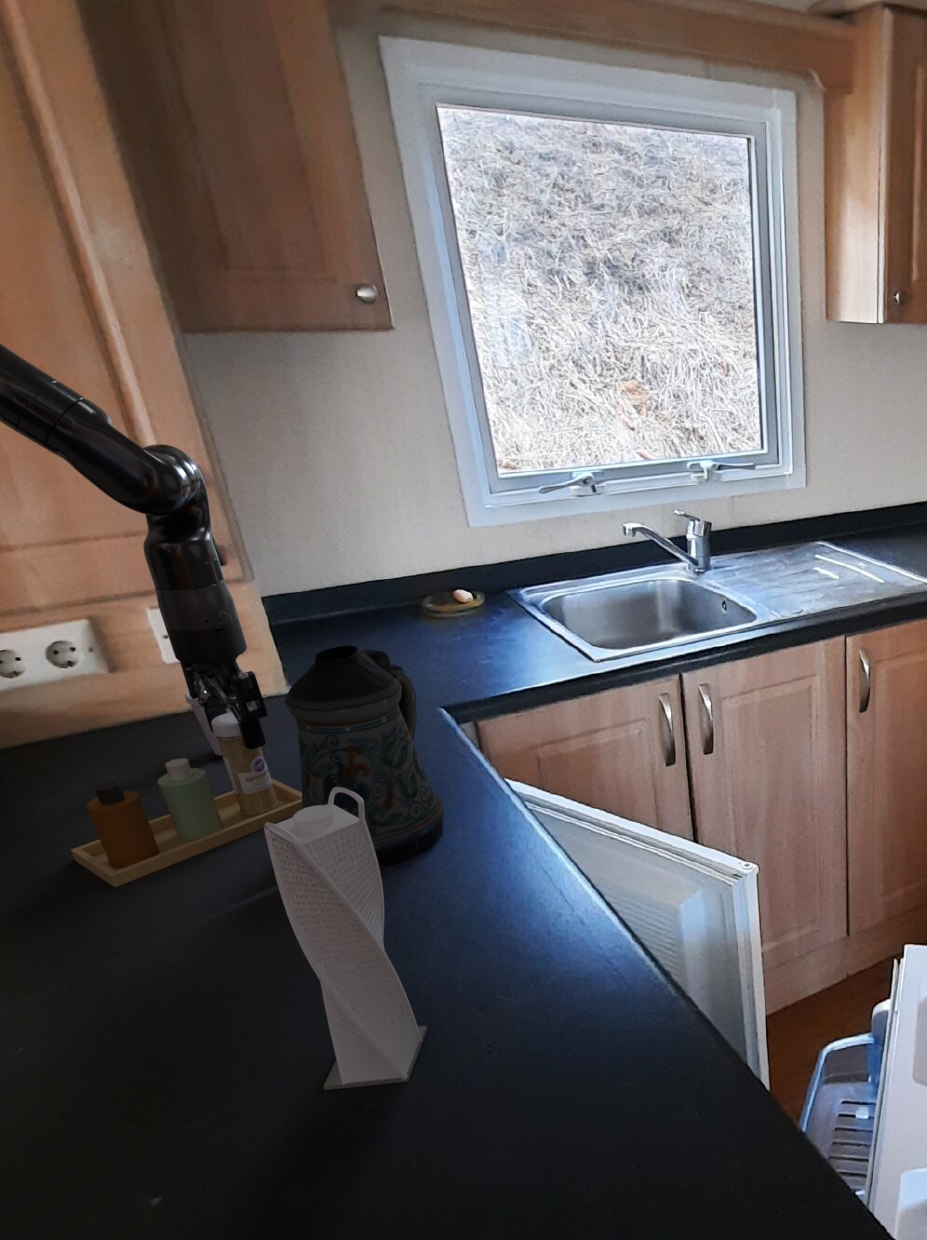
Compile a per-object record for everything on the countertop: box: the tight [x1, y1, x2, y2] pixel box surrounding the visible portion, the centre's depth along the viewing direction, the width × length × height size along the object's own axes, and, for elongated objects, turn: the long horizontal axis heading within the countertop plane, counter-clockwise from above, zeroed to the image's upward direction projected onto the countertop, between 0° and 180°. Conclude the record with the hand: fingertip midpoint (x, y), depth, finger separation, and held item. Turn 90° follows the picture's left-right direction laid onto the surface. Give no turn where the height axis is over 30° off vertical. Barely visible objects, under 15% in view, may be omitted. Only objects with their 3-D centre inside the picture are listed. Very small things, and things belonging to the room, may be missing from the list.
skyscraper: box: [263, 787, 428, 1091], centre depth 84 cm, size 8×8×28 cm
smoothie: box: [184, 690, 236, 756], centre depth 145 cm, size 6×6×14 cm
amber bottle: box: [86, 780, 159, 868], centre depth 117 cm, size 5×5×10 cm
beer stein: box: [284, 645, 445, 869], centre depth 121 cm, size 16×19×25 cm
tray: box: [70, 777, 302, 888], centre depth 125 cm, size 24×11×2 cm, turn 147°
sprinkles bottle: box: [211, 712, 278, 816], centre depth 128 cm, size 5×5×13 cm
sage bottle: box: [157, 757, 224, 842], centre depth 123 cm, size 5×5×10 cm
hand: (239, 739), depth 126 cm, fingers open, 8 cm apart
